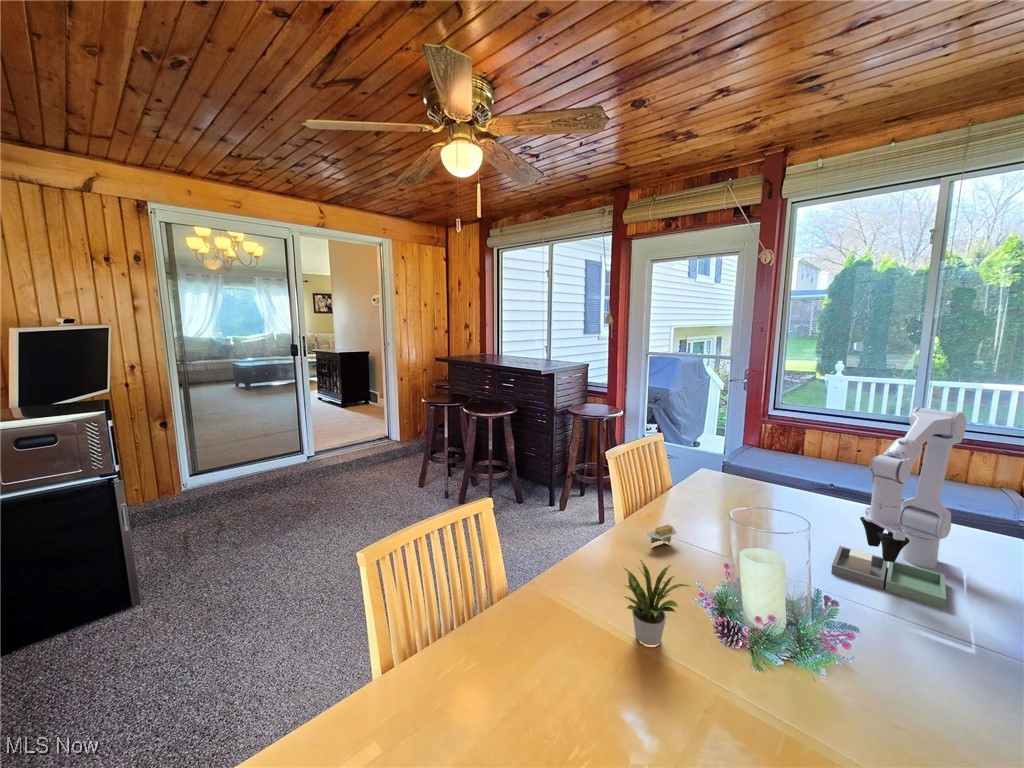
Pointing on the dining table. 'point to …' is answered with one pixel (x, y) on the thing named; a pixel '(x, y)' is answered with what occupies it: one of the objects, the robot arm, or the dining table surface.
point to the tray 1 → (873, 579)
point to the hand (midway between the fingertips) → (880, 553)
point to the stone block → (860, 561)
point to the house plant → (650, 606)
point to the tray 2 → (916, 583)
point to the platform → (662, 533)
